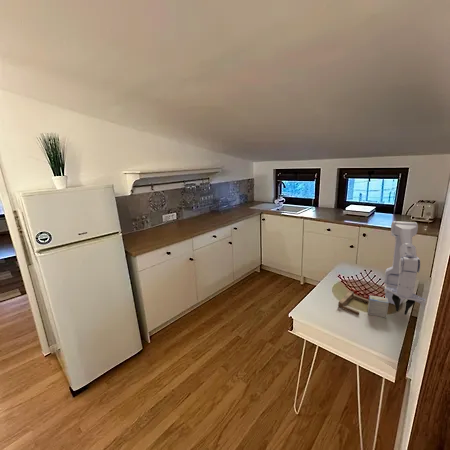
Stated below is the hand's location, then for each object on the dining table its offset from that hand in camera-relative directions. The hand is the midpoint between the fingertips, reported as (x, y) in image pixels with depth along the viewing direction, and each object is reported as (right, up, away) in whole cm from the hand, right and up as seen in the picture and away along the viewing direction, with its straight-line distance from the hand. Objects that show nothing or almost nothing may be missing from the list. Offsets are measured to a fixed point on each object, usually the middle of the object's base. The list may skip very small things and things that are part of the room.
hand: (401, 311), depth 110 cm
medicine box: (-2, -6, +16) cm, 17 cm away
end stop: (-9, -4, +23) cm, 25 cm away
